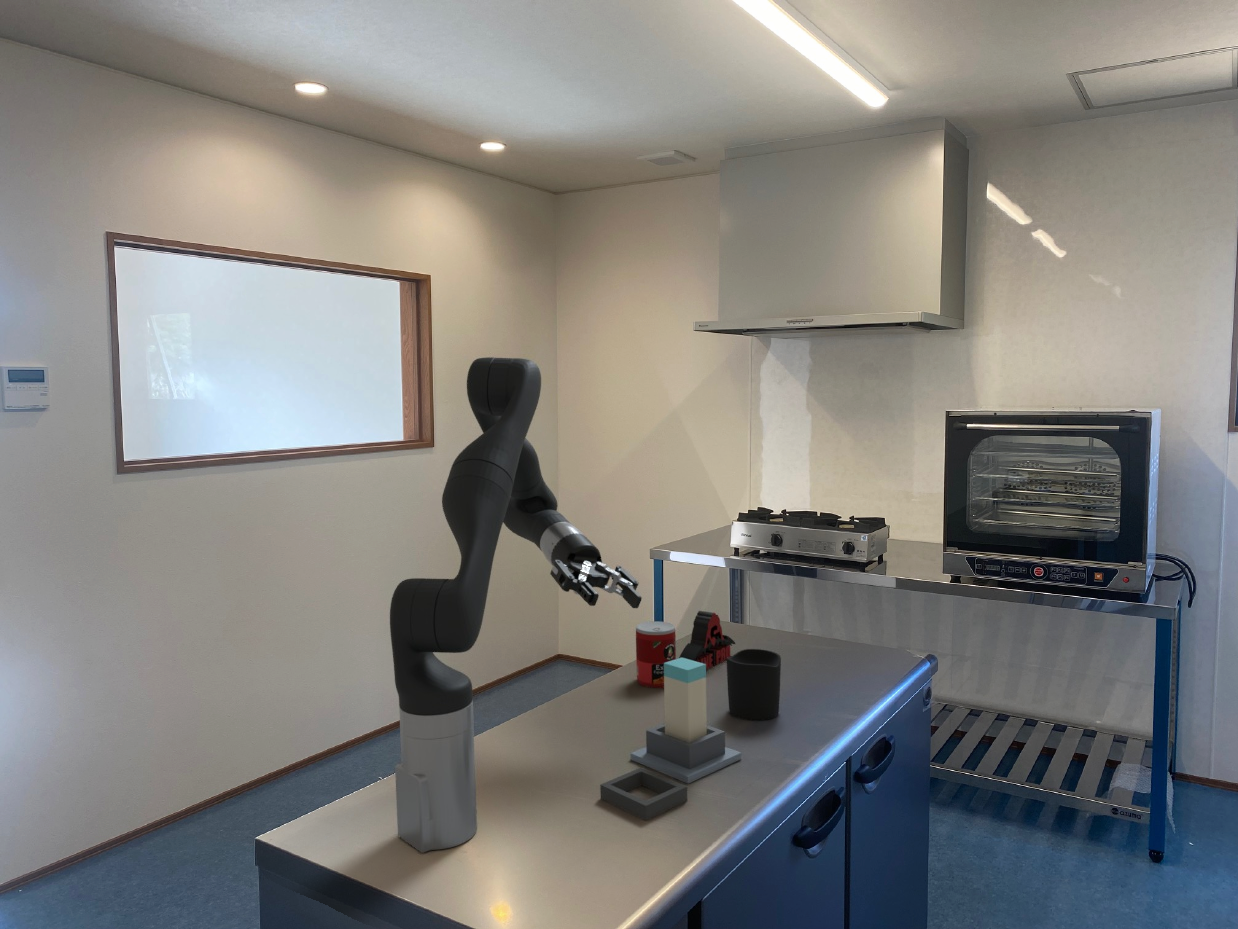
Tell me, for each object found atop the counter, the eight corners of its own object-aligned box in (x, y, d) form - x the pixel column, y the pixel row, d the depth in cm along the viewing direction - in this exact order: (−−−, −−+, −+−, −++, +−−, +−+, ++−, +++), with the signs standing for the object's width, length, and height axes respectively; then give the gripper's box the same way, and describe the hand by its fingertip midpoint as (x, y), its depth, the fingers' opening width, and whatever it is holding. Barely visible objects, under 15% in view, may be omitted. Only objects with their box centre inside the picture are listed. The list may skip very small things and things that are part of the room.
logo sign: (691, 678, 174) (690, 622, 173) (676, 675, 176) (675, 620, 175) (735, 655, 189) (735, 604, 188) (721, 652, 191) (721, 602, 190)
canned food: (656, 691, 167) (655, 634, 166) (628, 681, 173) (627, 626, 172) (684, 681, 172) (684, 626, 171) (656, 672, 178) (655, 619, 177)
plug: (689, 761, 132) (687, 670, 131) (665, 752, 136) (663, 663, 135) (706, 753, 135) (705, 664, 134) (683, 744, 139) (681, 657, 138)
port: (688, 783, 127) (687, 753, 127) (630, 759, 136) (630, 731, 136) (741, 759, 135) (740, 730, 135) (683, 737, 144) (683, 710, 144)
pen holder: (788, 720, 151) (788, 662, 150) (735, 724, 150) (735, 666, 149) (770, 701, 160) (770, 647, 160) (720, 705, 159) (719, 650, 158)
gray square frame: (646, 820, 117) (645, 805, 116) (600, 798, 123) (600, 784, 123) (687, 800, 122) (686, 786, 122) (641, 780, 129) (641, 767, 128)
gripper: (541, 528, 146) (588, 578, 133) (610, 536, 154) (660, 584, 142) (527, 568, 148) (571, 621, 135) (595, 573, 156) (643, 624, 144)
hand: (617, 602), depth 139 cm, fingers open, 8 cm apart
